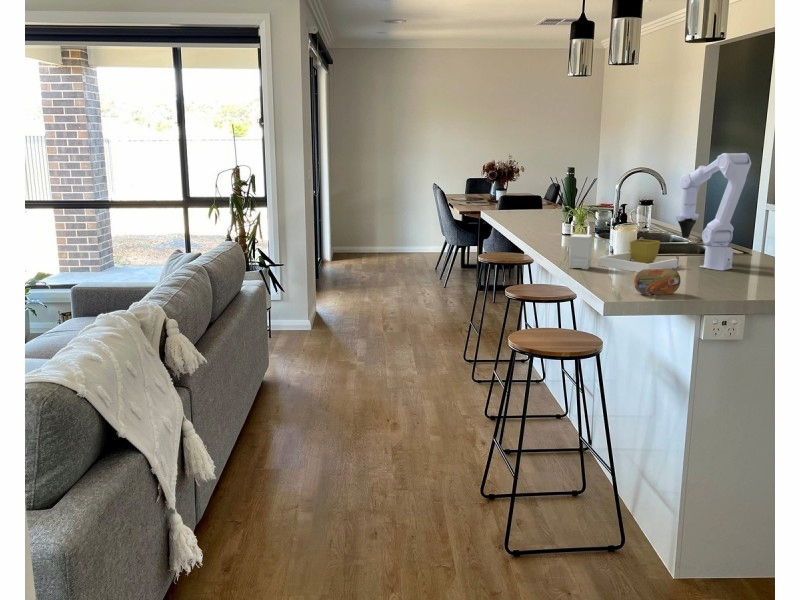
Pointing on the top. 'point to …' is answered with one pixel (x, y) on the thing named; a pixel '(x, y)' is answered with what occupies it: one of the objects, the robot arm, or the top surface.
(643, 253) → the flower pot
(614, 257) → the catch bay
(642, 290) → the tin
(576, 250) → the supplement box
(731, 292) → the top surface
